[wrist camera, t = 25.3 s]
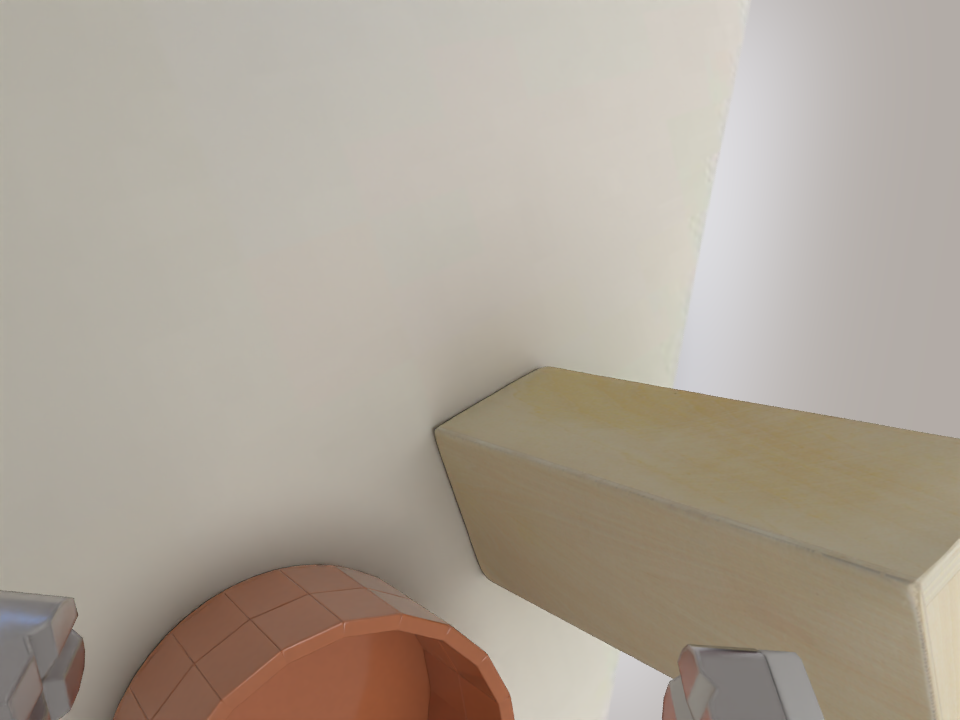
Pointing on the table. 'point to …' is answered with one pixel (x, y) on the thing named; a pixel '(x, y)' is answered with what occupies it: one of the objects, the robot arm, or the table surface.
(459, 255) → the table surface
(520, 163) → the table surface
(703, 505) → the toy refrigerator
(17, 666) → the robot arm
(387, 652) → the pot
